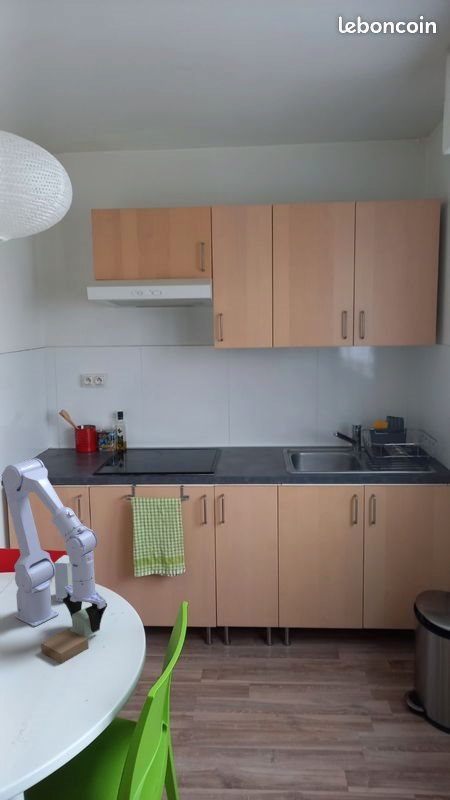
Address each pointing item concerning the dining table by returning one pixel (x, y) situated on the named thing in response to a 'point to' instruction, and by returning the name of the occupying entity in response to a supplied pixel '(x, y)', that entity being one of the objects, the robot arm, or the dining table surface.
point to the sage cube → (82, 623)
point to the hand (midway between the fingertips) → (86, 626)
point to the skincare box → (62, 576)
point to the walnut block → (64, 646)
